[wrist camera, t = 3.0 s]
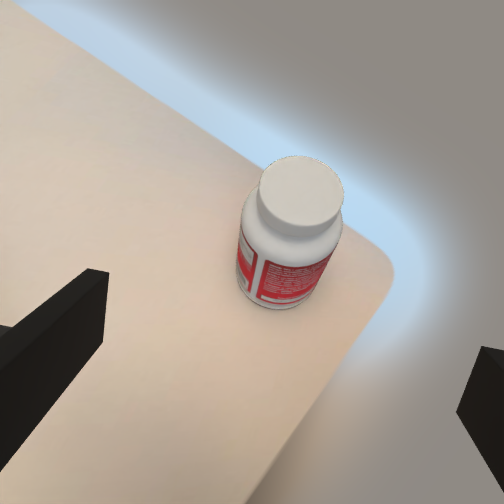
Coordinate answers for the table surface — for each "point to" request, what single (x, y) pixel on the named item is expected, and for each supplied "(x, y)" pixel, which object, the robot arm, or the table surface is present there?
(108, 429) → the table surface
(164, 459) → the table surface
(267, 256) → the pill bottle
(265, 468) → the table surface
